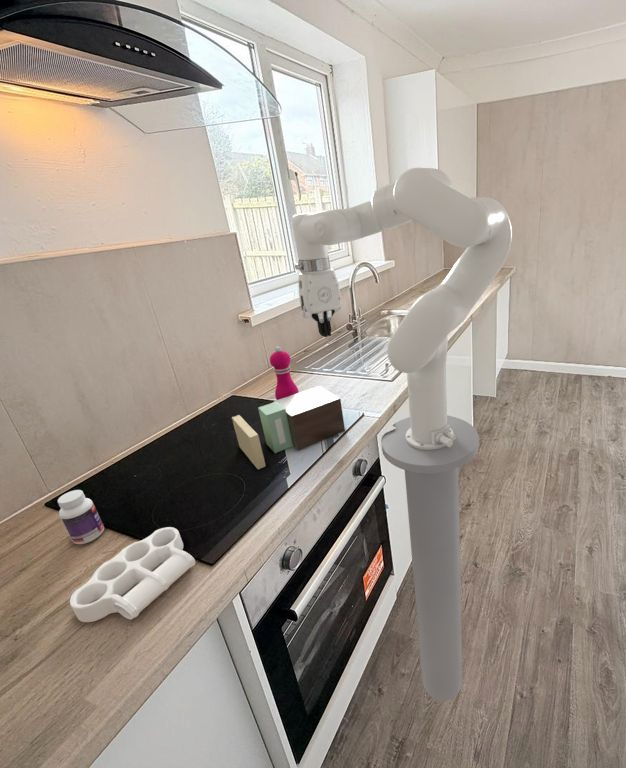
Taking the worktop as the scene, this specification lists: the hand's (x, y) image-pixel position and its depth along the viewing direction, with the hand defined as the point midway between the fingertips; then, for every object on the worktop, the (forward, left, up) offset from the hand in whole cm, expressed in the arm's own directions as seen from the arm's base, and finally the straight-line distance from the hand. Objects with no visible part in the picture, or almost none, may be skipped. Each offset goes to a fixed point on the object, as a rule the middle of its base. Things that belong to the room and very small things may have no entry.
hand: (325, 335), depth 111 cm
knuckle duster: (-28, +55, -25) cm, 67 cm away
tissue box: (-3, +17, -20) cm, 26 cm away
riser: (-3, +10, -25) cm, 27 cm away
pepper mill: (+17, +8, -25) cm, 32 cm away
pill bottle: (-8, +62, -25) cm, 67 cm away
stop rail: (-3, +27, -25) cm, 37 cm away
